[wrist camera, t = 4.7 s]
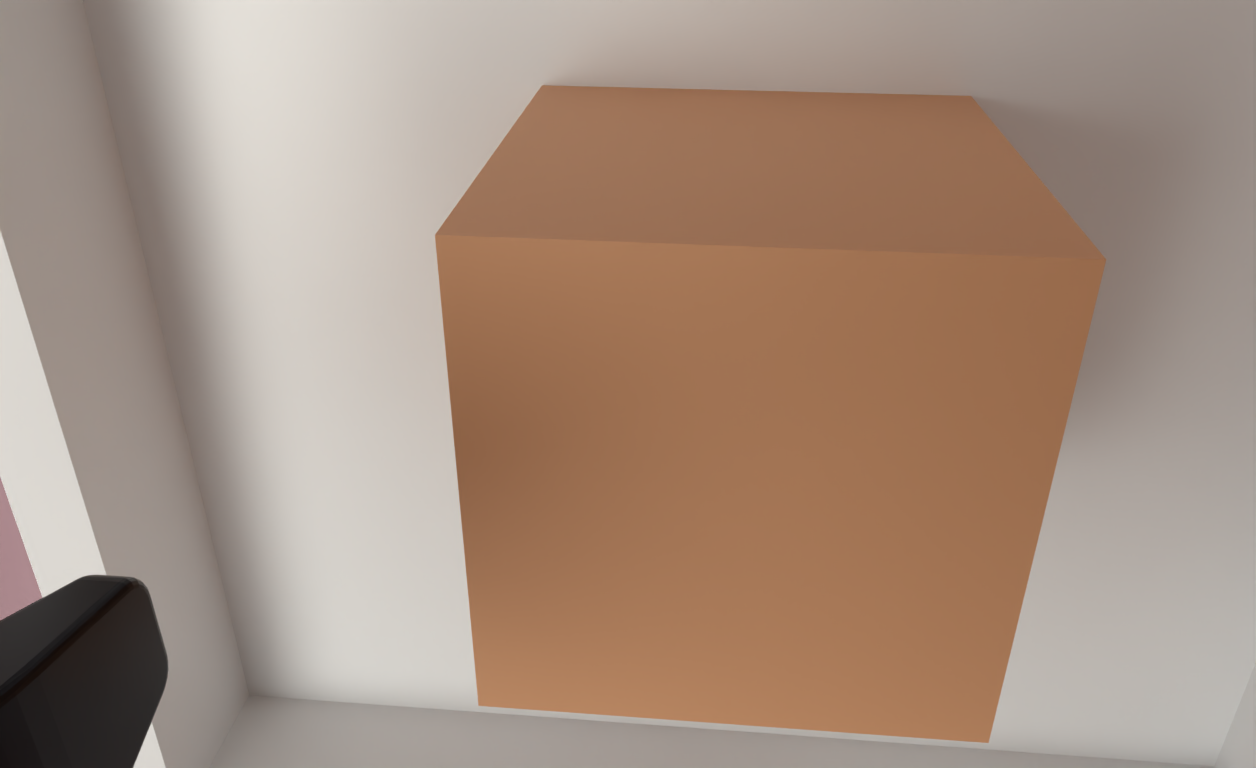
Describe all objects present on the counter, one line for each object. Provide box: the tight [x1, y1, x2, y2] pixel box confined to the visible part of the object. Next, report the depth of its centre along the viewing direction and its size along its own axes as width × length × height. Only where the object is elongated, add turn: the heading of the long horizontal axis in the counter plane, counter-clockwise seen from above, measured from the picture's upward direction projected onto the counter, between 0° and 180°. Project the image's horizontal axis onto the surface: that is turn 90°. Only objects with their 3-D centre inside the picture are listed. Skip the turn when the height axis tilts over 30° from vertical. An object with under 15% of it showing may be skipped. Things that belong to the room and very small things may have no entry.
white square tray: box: [0, 0, 1256, 768], centre depth 12 cm, size 18×18×3 cm
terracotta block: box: [435, 85, 1106, 743], centre depth 11 cm, size 5×5×5 cm
